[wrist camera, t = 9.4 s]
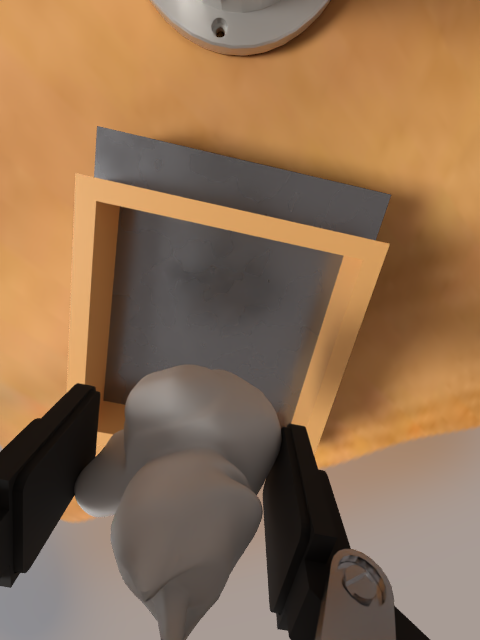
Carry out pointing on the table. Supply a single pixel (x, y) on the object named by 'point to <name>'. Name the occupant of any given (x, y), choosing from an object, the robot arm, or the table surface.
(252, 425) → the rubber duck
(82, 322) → the wooden tray on slab
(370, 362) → the table surface
